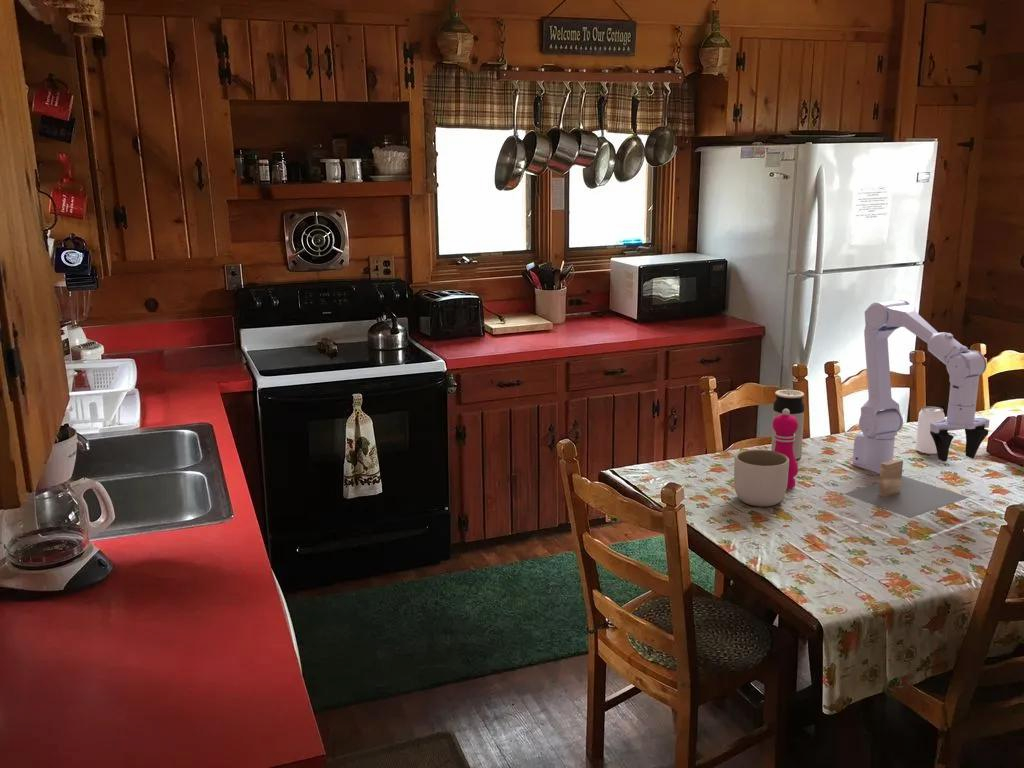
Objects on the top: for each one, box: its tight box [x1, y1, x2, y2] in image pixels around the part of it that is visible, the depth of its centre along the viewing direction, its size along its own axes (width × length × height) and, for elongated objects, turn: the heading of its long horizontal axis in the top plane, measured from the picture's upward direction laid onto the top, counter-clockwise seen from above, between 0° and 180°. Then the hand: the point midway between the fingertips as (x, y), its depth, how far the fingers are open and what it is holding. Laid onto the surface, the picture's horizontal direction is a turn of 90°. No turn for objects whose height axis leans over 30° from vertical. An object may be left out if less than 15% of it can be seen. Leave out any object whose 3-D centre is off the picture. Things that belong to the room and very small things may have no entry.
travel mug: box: [770, 389, 805, 460], centre depth 240 cm, size 8×8×18 cm
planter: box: [733, 448, 789, 508], centre depth 211 cm, size 12×12×11 cm
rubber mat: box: [843, 475, 970, 519], centre depth 212 cm, size 18×22×1 cm
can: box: [915, 406, 946, 455], centre depth 243 cm, size 6×6×12 cm
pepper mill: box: [772, 409, 799, 489], centre depth 219 cm, size 7×7×20 cm
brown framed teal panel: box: [878, 458, 904, 497], centre depth 212 cm, size 2×6×8 cm, turn 121°
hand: (956, 458), depth 209 cm, fingers open, 7 cm apart
